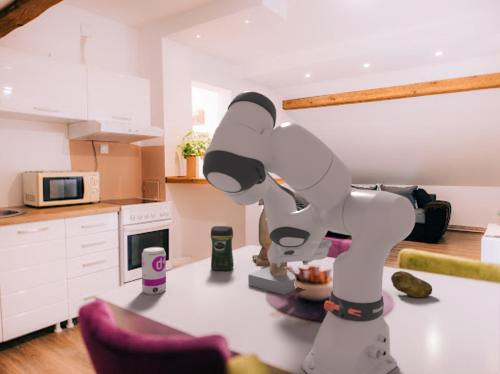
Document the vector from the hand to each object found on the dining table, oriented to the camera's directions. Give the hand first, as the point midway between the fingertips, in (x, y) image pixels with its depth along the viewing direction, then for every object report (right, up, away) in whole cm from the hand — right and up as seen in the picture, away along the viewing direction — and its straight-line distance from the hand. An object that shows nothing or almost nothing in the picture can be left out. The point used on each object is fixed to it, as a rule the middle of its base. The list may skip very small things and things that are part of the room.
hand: (292, 264), depth 120 cm
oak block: (-4, -6, +12) cm, 14 cm away
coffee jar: (-26, -9, +32) cm, 42 cm away
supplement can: (-48, -11, +5) cm, 50 cm away
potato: (+41, -11, +1) cm, 43 cm away
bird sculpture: (-7, -9, +43) cm, 45 cm away
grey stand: (-4, -10, +12) cm, 16 cm away
